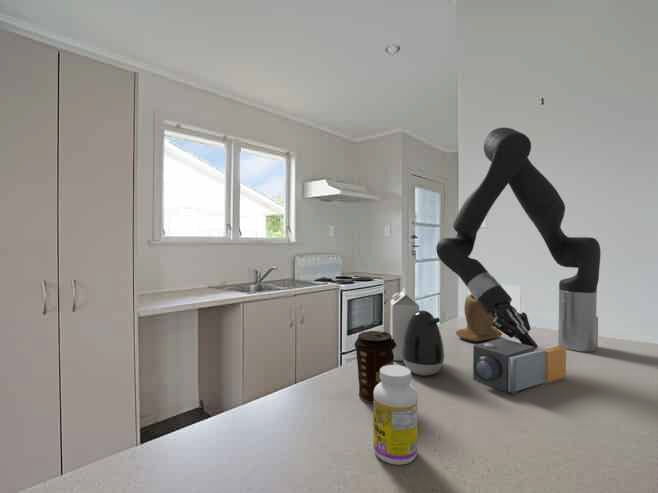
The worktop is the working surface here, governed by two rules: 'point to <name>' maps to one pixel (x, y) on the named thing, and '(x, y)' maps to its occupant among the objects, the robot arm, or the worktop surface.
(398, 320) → the milk carton
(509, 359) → the grey and orange bar
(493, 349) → the camera body
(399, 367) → the supplement bottle
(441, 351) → the pump dispenser
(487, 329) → the clay pot
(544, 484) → the worktop surface
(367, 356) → the coffee cup
